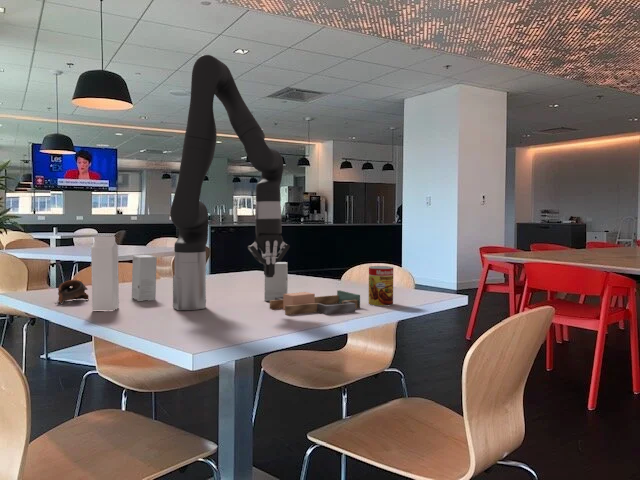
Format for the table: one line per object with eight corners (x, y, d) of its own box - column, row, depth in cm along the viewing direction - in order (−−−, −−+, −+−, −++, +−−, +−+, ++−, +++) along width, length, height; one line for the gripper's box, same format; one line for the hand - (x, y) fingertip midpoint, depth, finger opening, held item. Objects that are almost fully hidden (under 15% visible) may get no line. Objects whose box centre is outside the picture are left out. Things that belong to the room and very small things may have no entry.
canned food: (381, 307, 161) (382, 268, 161) (363, 303, 167) (363, 266, 167) (398, 304, 167) (398, 267, 166) (379, 301, 172) (380, 265, 172)
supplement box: (286, 301, 171) (286, 263, 171) (263, 301, 172) (263, 263, 171) (288, 298, 179) (288, 261, 178) (266, 298, 179) (266, 261, 178)
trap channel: (294, 317, 143) (294, 303, 143) (263, 306, 162) (263, 293, 162) (369, 310, 155) (369, 297, 155) (332, 300, 174) (332, 288, 174)
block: (292, 312, 152) (292, 295, 151) (283, 310, 156) (283, 293, 155) (314, 310, 156) (314, 293, 156) (305, 307, 160) (305, 291, 160)
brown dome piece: (97, 302, 172) (91, 282, 168) (73, 318, 165) (67, 298, 161) (72, 290, 177) (66, 271, 173) (48, 306, 170) (41, 286, 166)
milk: (98, 308, 157) (97, 236, 157) (119, 308, 158) (118, 235, 157) (91, 311, 151) (90, 236, 151) (113, 311, 152) (112, 236, 151)
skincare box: (131, 298, 177) (130, 255, 176) (148, 297, 181) (148, 254, 180) (139, 301, 170) (138, 256, 170) (157, 300, 174) (157, 255, 173)
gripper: (251, 217, 144) (253, 279, 144) (294, 217, 150) (295, 276, 151) (242, 217, 150) (243, 277, 151) (283, 217, 157) (284, 274, 157)
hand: (269, 277), depth 151 cm, fingers closed
